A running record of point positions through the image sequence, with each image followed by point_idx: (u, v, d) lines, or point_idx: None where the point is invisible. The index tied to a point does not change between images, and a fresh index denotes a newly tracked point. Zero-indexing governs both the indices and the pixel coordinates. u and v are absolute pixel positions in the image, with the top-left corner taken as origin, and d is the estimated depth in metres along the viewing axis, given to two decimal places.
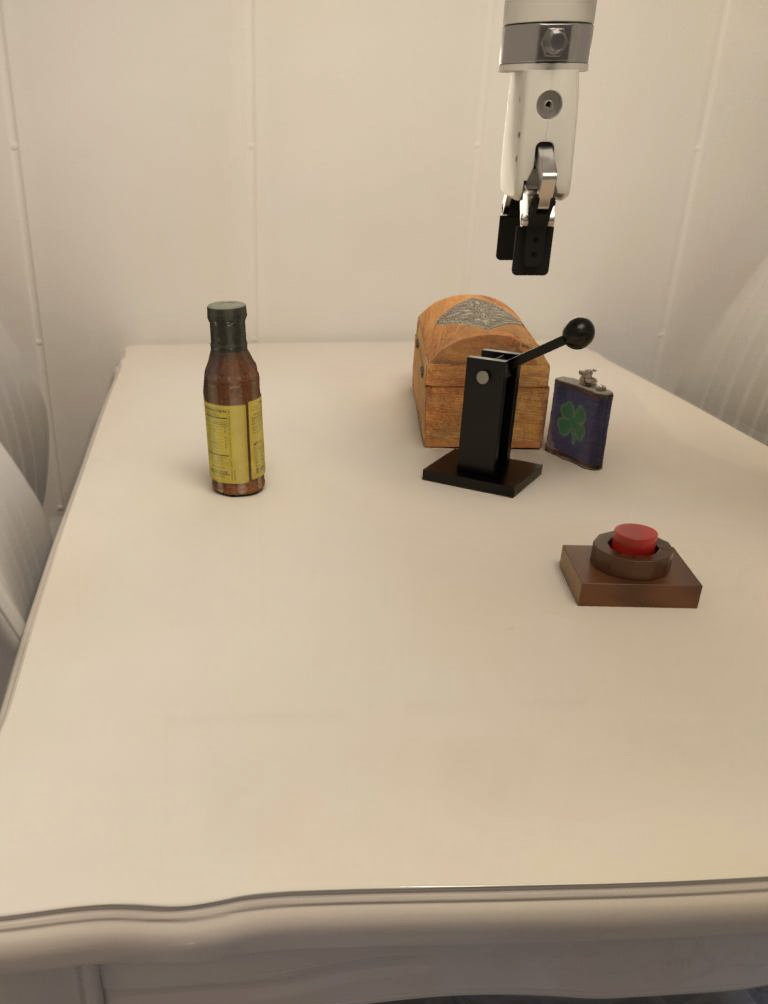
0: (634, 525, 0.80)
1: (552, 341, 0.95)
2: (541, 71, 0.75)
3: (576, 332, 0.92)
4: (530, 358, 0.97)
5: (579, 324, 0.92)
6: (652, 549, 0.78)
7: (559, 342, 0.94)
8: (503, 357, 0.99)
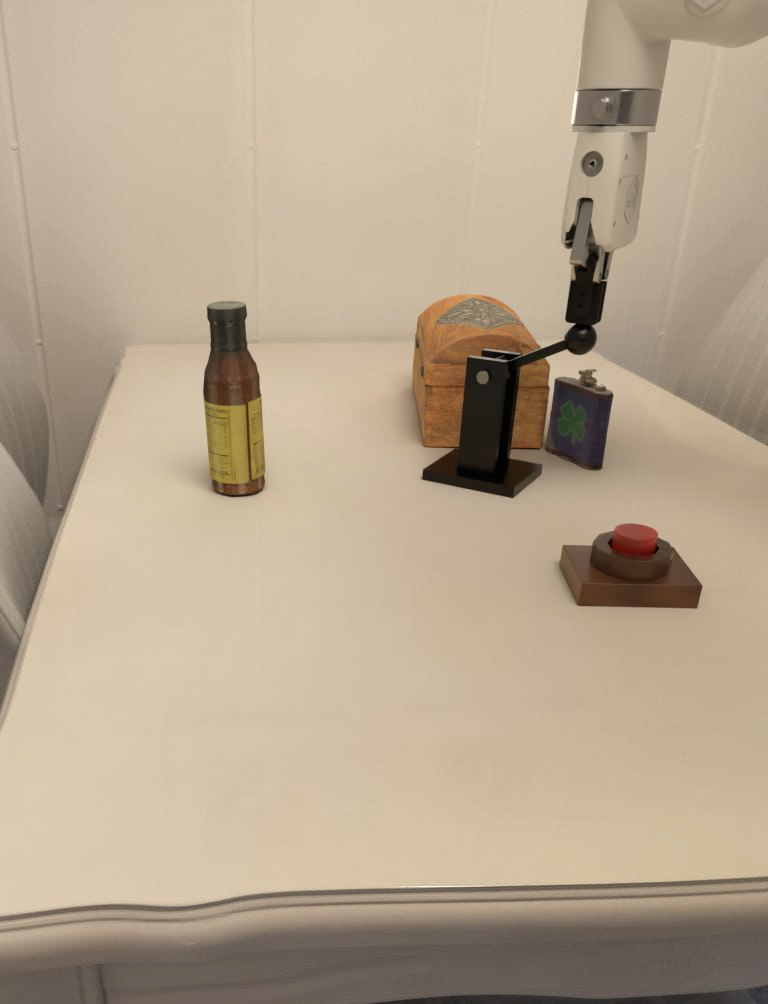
0: (634, 525, 0.80)
1: (554, 345, 0.95)
2: (588, 133, 0.82)
3: (578, 338, 0.92)
4: (531, 360, 0.97)
5: (582, 330, 0.92)
6: (652, 549, 0.78)
7: (561, 346, 0.94)
8: (504, 358, 0.99)
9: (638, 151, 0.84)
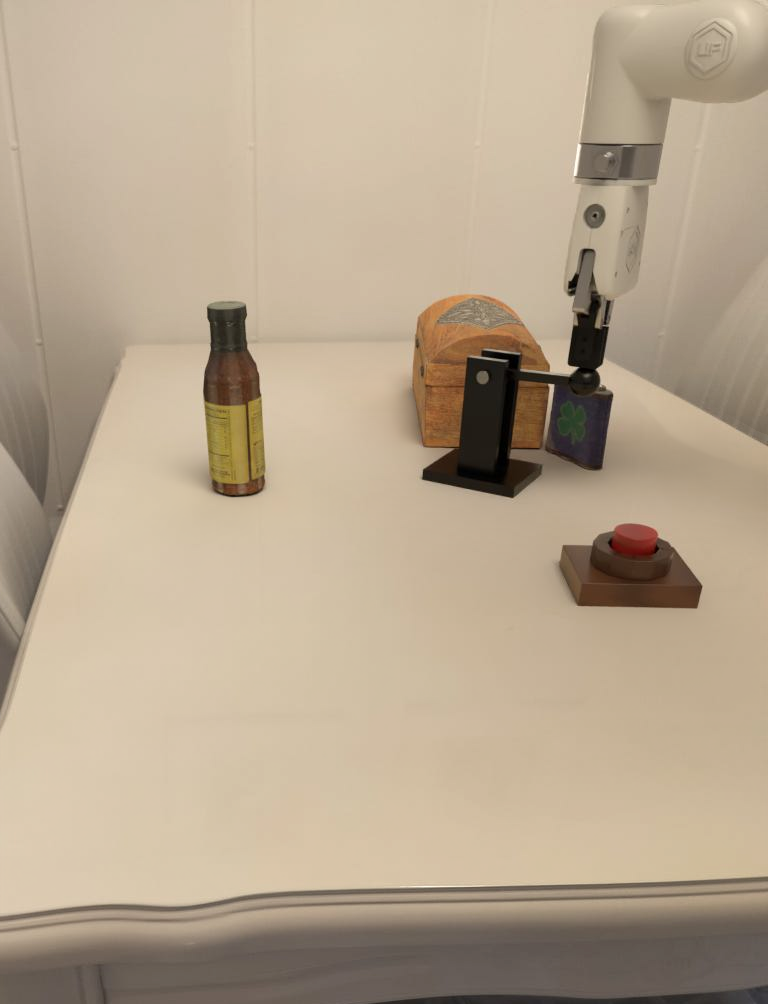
0: (634, 525, 0.80)
1: (558, 376, 0.96)
2: (590, 187, 0.83)
3: (583, 383, 0.94)
4: (532, 380, 0.98)
5: (589, 377, 0.94)
6: (652, 549, 0.78)
7: (564, 381, 0.96)
8: None
9: (639, 203, 0.85)
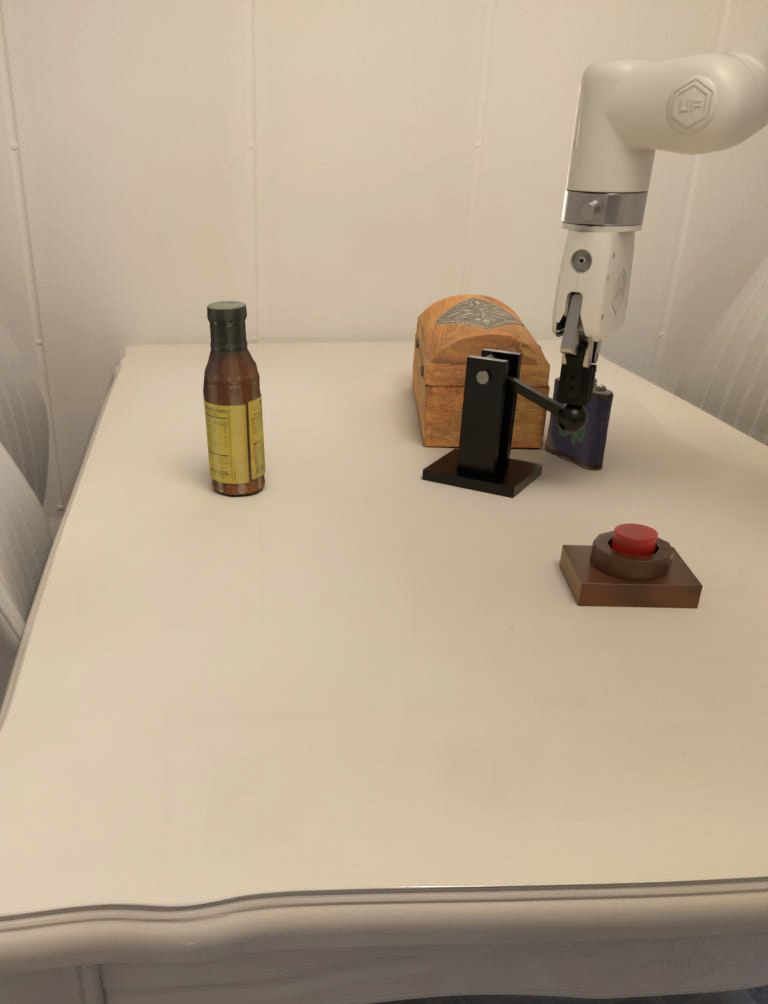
0: (634, 525, 0.80)
1: (551, 404, 0.98)
2: (577, 233, 0.86)
3: (571, 421, 0.96)
4: (526, 396, 0.99)
5: (578, 418, 0.96)
6: (652, 549, 0.78)
7: (554, 410, 0.98)
8: (510, 369, 1.00)
9: (625, 247, 0.88)
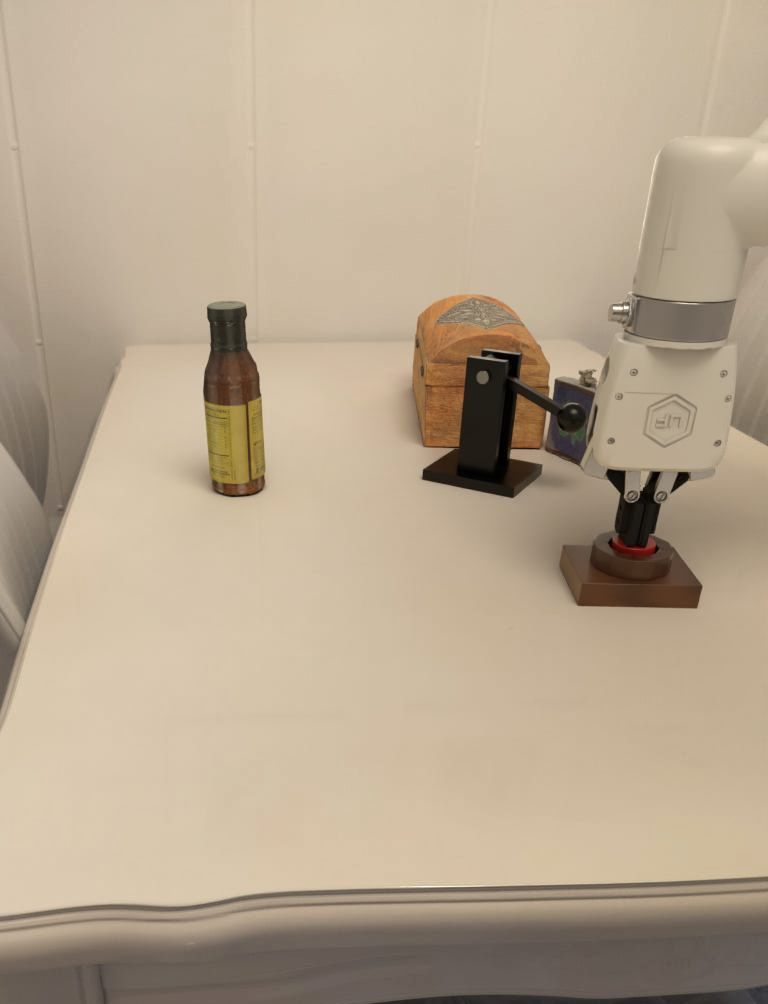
0: None
1: (551, 404, 0.98)
2: (614, 337, 0.72)
3: (571, 421, 0.96)
4: (525, 396, 0.99)
5: (578, 418, 0.96)
6: None
7: (554, 410, 0.98)
8: (510, 369, 1.00)
9: (676, 368, 0.69)
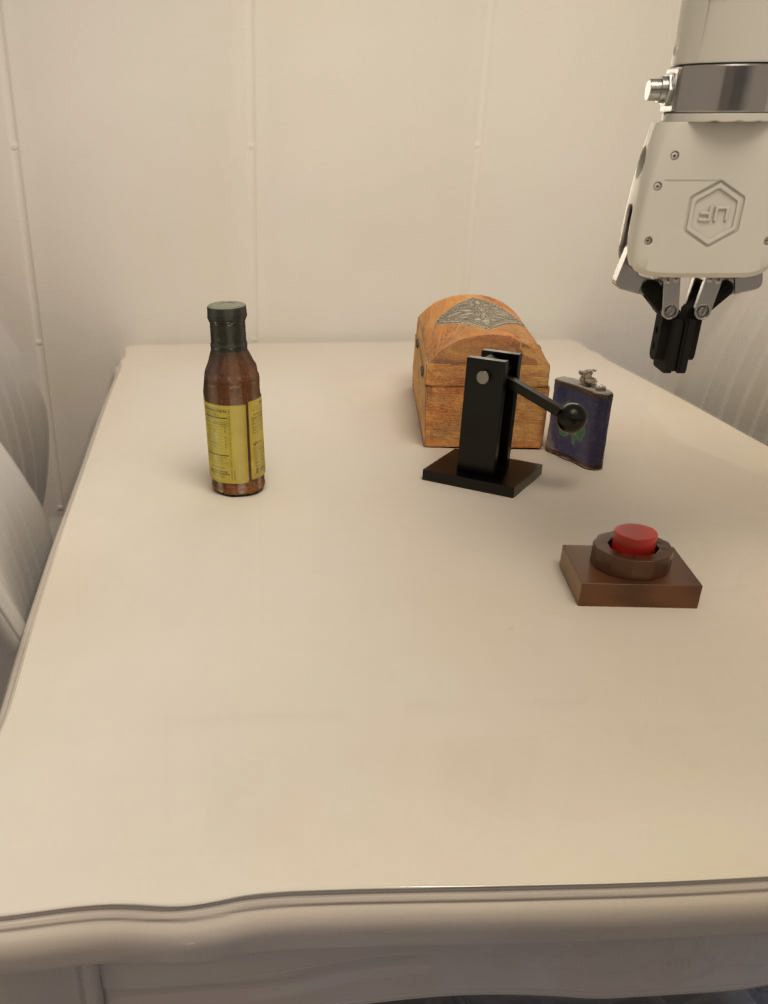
0: (634, 525, 0.80)
1: (551, 404, 0.98)
2: (651, 123, 0.64)
3: (571, 421, 0.96)
4: (525, 396, 0.99)
5: (578, 418, 0.96)
6: (652, 549, 0.78)
7: (554, 410, 0.98)
8: (510, 369, 1.00)
9: (723, 148, 0.62)
